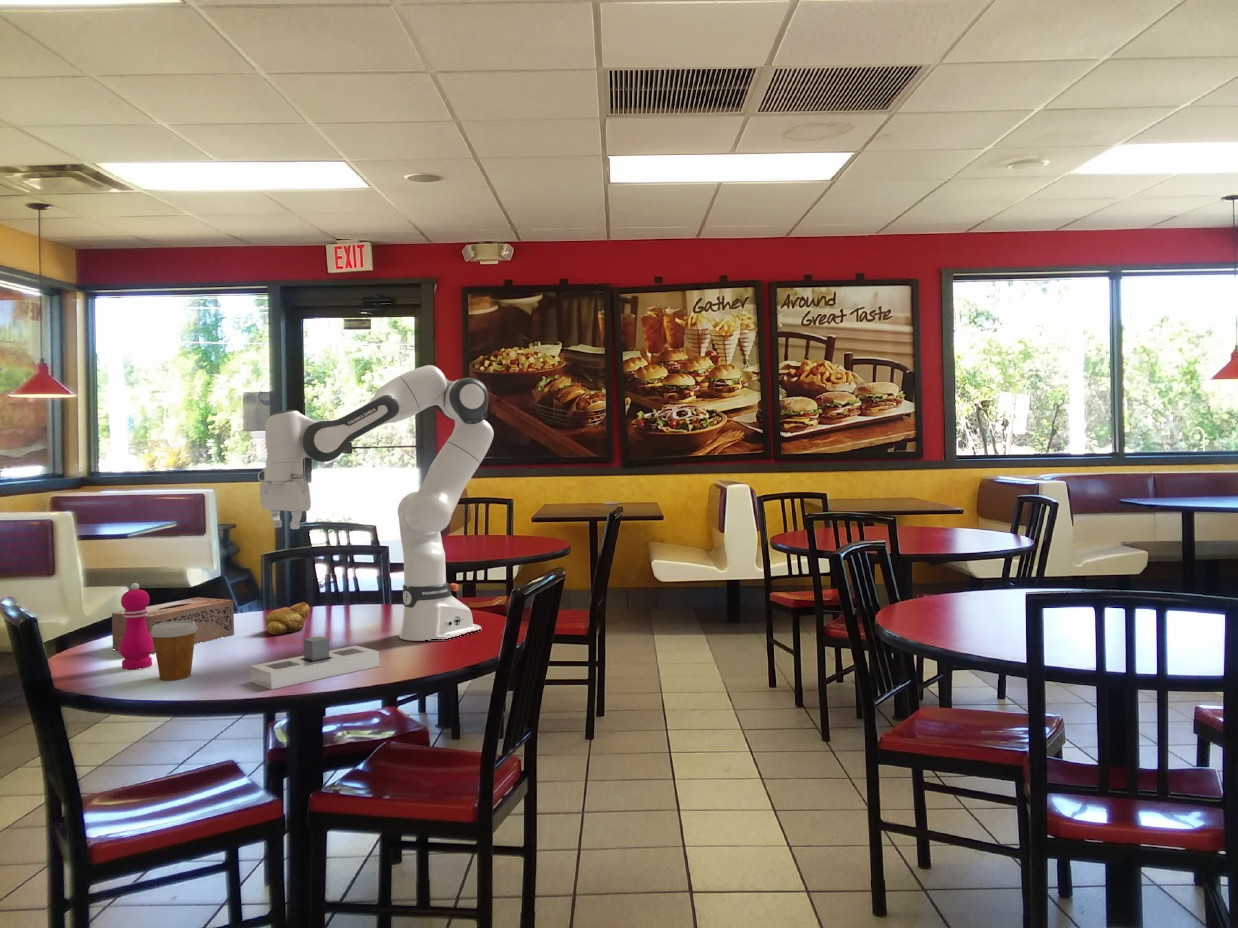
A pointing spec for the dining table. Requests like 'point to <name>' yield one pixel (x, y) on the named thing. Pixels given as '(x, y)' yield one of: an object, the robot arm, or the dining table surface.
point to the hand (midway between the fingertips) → (286, 528)
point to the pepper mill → (136, 630)
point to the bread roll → (287, 619)
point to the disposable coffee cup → (174, 648)
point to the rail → (313, 667)
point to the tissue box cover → (185, 618)
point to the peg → (316, 649)
